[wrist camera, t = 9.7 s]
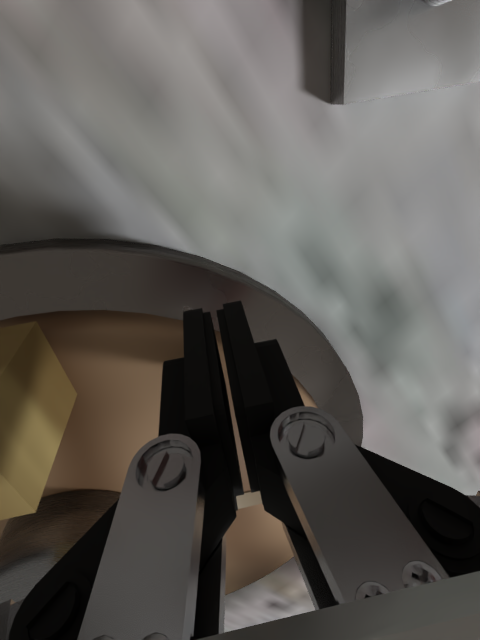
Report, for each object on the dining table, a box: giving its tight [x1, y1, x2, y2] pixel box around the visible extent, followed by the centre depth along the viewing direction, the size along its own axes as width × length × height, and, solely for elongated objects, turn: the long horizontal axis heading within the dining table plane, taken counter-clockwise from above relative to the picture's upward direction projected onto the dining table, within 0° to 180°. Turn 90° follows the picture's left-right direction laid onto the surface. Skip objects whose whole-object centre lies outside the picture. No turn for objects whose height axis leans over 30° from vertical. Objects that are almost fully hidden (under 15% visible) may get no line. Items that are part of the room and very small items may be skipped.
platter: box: [0, 310, 318, 595], centre depth 15 cm, size 22×22×6 cm
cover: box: [0, 490, 121, 604], centre depth 14 cm, size 7×7×4 cm
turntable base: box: [0, 239, 363, 447], centre depth 18 cm, size 26×26×1 cm
